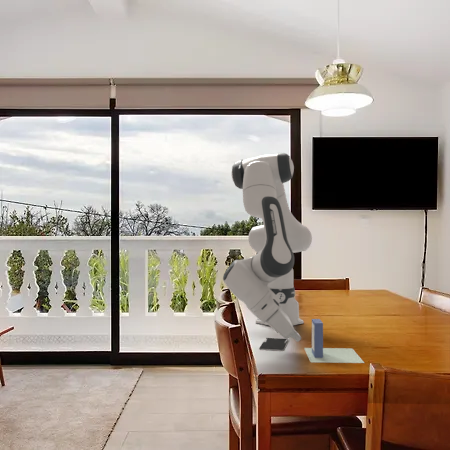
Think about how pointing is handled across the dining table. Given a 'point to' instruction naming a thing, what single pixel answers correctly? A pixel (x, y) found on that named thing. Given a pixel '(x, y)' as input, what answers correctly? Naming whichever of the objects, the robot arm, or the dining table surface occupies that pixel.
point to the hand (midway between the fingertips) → (299, 339)
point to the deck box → (317, 338)
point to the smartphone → (274, 344)
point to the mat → (335, 355)
